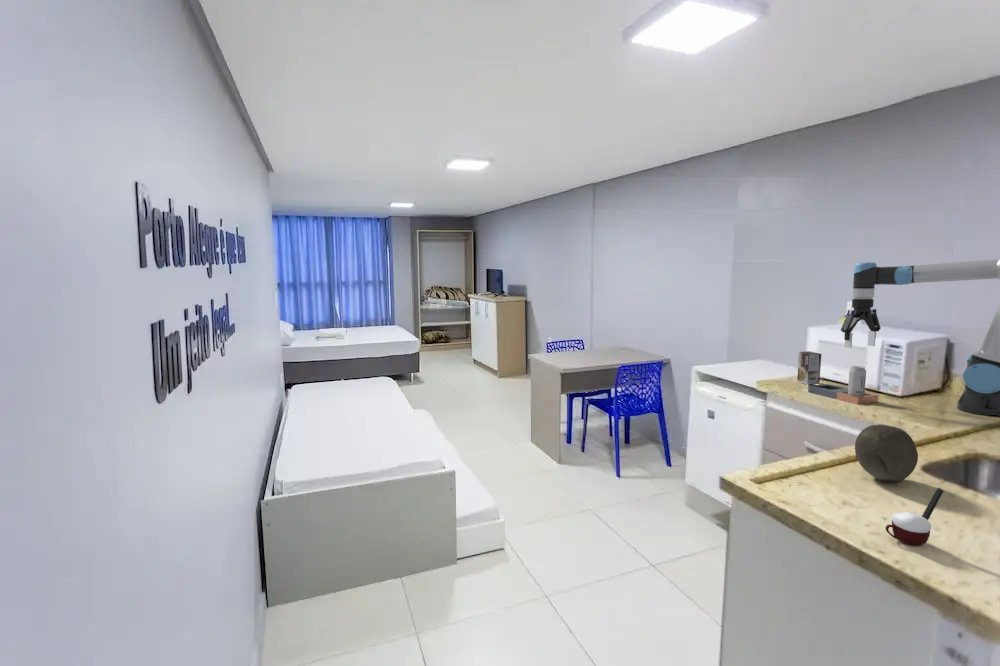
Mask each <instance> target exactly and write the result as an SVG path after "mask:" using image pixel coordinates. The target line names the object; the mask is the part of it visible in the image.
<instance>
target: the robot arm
mask: <svg viewBox="0 0 1000 666" xmlns="http://www.w3.org/2000/svg"><path fill="white" fill-rule="evenodd" d="M995 279H996V280H1000V257H999V258H996V259H983V260H982V259H981V260H972V261H971V260H969V261H956V262H955V261H954V262H945V263H944V262H943V263H932V264H931V263H929V264H919V265H918V264H915V265H900V266H898V265H897V266H877V263H876V262H874V261H873V262H857V263H856V264H855V265H854V270H853V282H852V283H853V284H852V288H853V289H852V300H851V307H852V308H853V309H847V314H846V317H845V319H844V321H843V324H842V326H841V328H840V331H841V332H842V333H844V337H843V338H844V345H843V346H844V348H848V349H852V347H853V335H854V334H853V332H852V331H853V330H854V329H855V327H856V325H857V324H858V322H861V321H864V322H865V324H866V326H867V327H868V329H869V330H868V332H867V333H868V334H867V346H869V347H875V346H876V338H877V332H880V330H881V325H880V322H879V318H878V315H877V309H876V308H874V302H875V301H874V299H873V298H875V286H876V285H878V286H879V285H887V286H888V285H889V286H890V285H891V286H892V285H894V286H895V285H897V286H903V285H910V284H922V283H924V284H925V283H939V282H957V281H958V282H959V281H977V280H979V281H980V280H995ZM966 362H967V363H966V368H965V370H964V372H963V373H962V380H963V382H964V390H963V392H962V394H961V396H960V397H959V399H958V401H957V405H956V408H957V409H958V410H960V411H962V412H965V413H970V414H974V413H975V415H980V414H984V415H983V416H989V415H1000V303H999V305H998V306H997V309H996V311H995V313H994V315H993V318H992V320H991V322H990V325H989V327H988V330H987V332H986V335H985V337H984V339H983V341H982V345H981V347H980V349H979V350H977V351H974V352H972V354H969V355H968V356H967V358H966Z"/></svg>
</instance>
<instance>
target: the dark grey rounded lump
mask: <svg viewBox="0 0 1000 666" xmlns="http://www.w3.org/2000/svg"><path fill="white" fill-rule="evenodd" d="M854 452H855V456H856V458H857V460H858V462H859V464H860V466H861V467H862V468H863V470H865V472H867V473H868V474H869V475H870V476H872V477H873V478H875V479H877V480H879V481H882V482H886V483H897V482H901V481H904V480H906V479H907V478H908V477H909V476H911V474H912V472H914V471H915V469H916V468H917V467H916V466H917V465H918V464H917V463H918V459H919V454H918V450H917V447H916V443H915V441H914V439H913V438H912V437H911V436H910V435H909V433H908V432H906V431H905V430H903V429H902V428H899V427H896V426H892V425H887V424H872V425H871V424H870V425H868V426H867V427H865V428H864V429H862V430H861V432H860V433H858V435H857V437H856V439H855V443H854Z"/></svg>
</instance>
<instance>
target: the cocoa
mask: <svg viewBox="0 0 1000 666" xmlns="http://www.w3.org/2000/svg"><path fill="white" fill-rule="evenodd" d="M943 493H944V490H943V488H941V487H936V490H935V491H934V492H933V495H932V497H931V498H930V500H929V502H928V503H927V506H926V508H925V510H924V511H923V514H922V515H918V514H916V513H913V512H910V511H905V512H897V513H893V514H892V516H891V524H887V525H886V526H885V531H886V533H887V534H889V535H890V536H891V537H893V538H894V539H896V540H898V541H899V542H900V543H902V544H905V545H907V546H913V547H920V546H923V545H925V544H926V543H927V542H928V541H929V538H930V535H931V530H932V524H931V522H930V521H929V519H930V517H931V515H932V513H933V512H934V510H935V508H936V506H937V505H938V503H939V501H940V499H941V497H942V495H943ZM889 528H892V529H891V530H892V532H891V531H889ZM892 533H893V534H892Z"/></svg>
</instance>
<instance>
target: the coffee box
mask: <svg viewBox="0 0 1000 666" xmlns="http://www.w3.org/2000/svg"><path fill="white" fill-rule="evenodd" d="M797 360H798V361H797V362H798V365H797V381H800V382H803V383H805V384H804V385H806V384H808V385H807V386H810V385H809V384H819V385H820V381H821V380H820V379H821V366H822V365H821V364H822V353H819V352H816V351H798V359H797ZM797 381H796V382H797ZM800 382H799V383H800ZM803 383H802V384H803Z"/></svg>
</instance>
